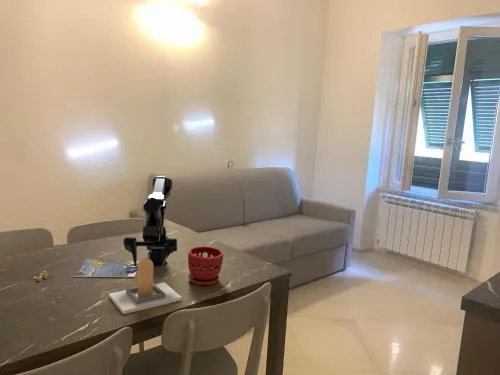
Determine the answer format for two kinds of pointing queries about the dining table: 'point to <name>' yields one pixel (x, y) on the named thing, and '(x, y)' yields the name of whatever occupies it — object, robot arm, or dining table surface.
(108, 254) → the dining table surface
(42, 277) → the yellow knobbed cluster
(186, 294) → the dining table surface
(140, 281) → the orange domed cylinder
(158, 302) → the plate
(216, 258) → the plant pot
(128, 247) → the robot arm
